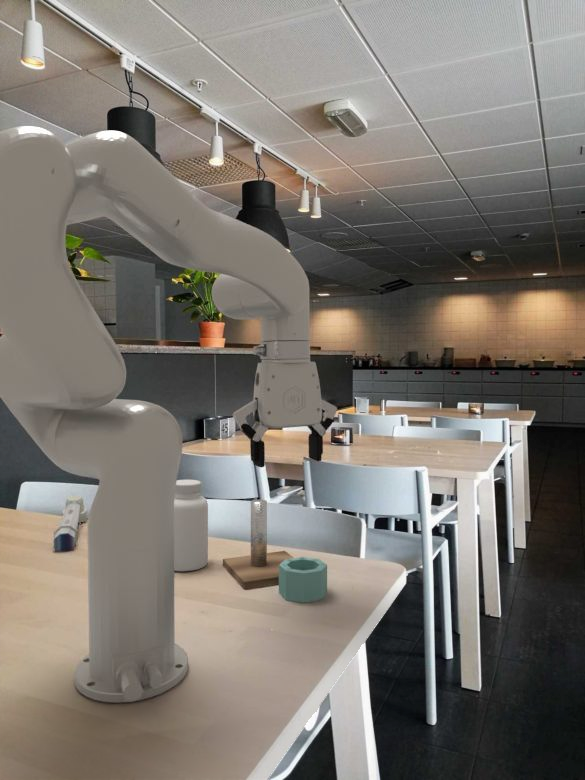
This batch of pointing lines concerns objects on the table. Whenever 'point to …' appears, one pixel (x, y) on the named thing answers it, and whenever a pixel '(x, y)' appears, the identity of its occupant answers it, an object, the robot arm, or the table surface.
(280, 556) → the board
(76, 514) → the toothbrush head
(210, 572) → the table surface
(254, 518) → the grey metal peg
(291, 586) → the ring
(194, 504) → the pill bottle
